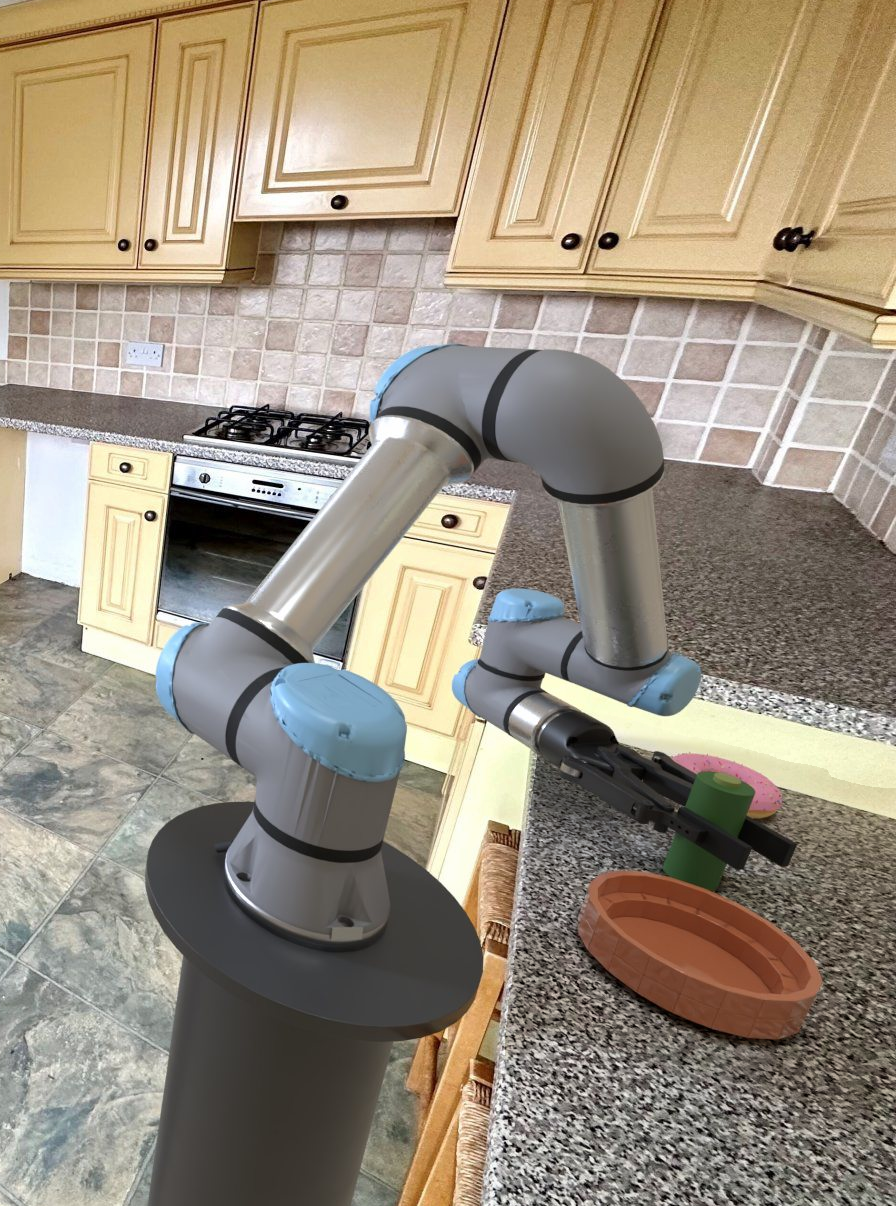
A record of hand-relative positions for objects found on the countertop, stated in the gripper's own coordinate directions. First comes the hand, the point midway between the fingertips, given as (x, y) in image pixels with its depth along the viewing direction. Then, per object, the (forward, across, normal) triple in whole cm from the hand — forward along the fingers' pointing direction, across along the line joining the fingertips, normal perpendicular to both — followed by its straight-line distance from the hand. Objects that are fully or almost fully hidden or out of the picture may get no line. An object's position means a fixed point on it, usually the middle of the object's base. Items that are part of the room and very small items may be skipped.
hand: (766, 856), depth 77 cm
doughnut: (-18, -18, -7) cm, 27 cm away
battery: (-5, 0, -7) cm, 9 cm away
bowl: (+6, +14, -7) cm, 17 cm away
